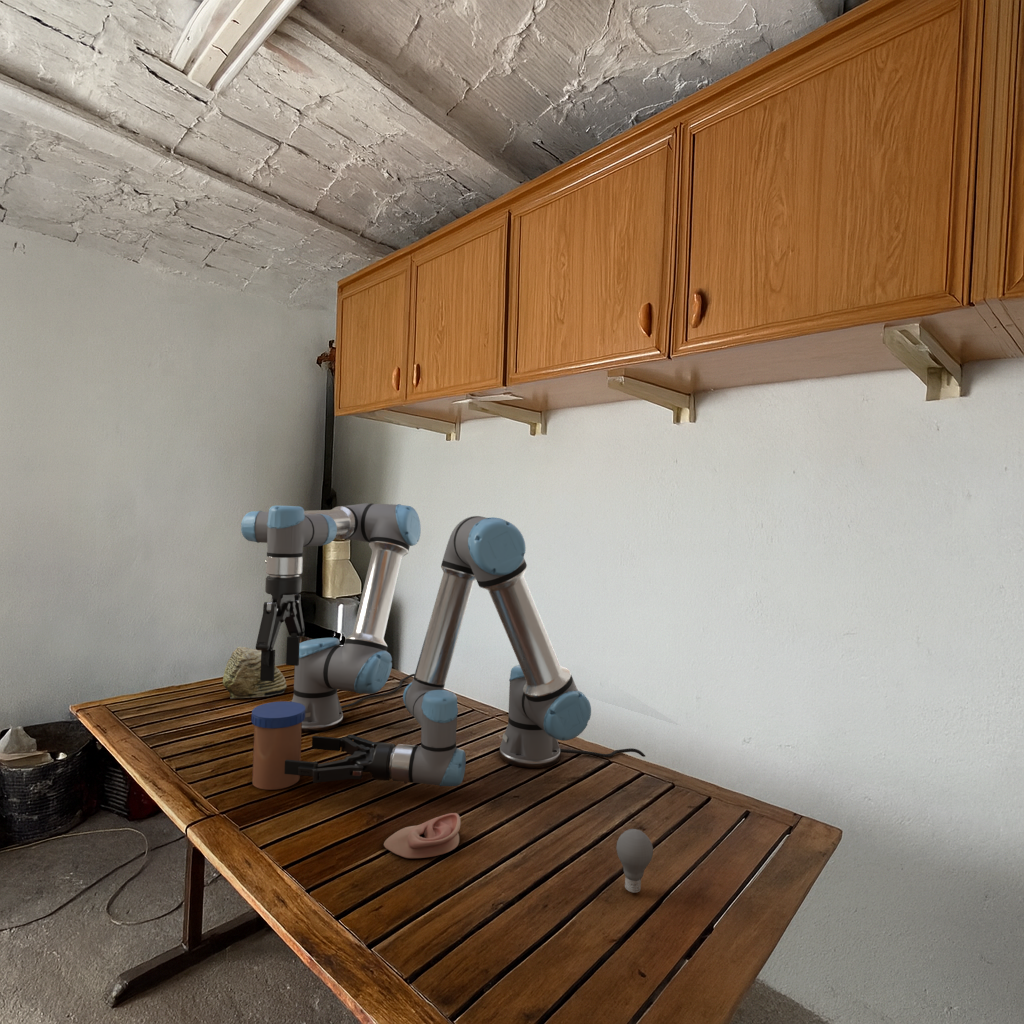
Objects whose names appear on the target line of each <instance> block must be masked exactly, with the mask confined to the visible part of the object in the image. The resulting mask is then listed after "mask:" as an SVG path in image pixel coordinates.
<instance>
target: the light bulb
mask: <svg viewBox="0 0 1024 1024" xmlns="http://www.w3.org/2000/svg"><path fill="white" fill-rule="evenodd" d="M615 849H616V854H617V857H618V859H619V861H620V863H621V865H622V867H623V873H624V874H623V875H624V876H625V878H624V888H625V890H627V891H628V892H630V893H634V894H635V893H639V892H640V891H641V889H642V887H641V886H642V879H643V877H644V875H645V871H646V868H647V867H648V866H649V864H650V863H651V861H652V859H653V855H654V847H653V843H652V841H651V838H649V836H648V835H647V834H646V833H645V832H643V831H642V830H641V829H636V828H629V829H627V830H625V831H623V832H622V833H621V834H620V835H619V837H618V839H617V841H616V847H615Z"/></svg>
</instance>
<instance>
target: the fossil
mask: <svg viewBox="0 0 1024 1024" xmlns="http://www.w3.org/2000/svg"><path fill="white" fill-rule="evenodd" d="M260 672H261V650H256V648H251V647H247V646H246V647H245V646H238V647H237V648H236V649H235V650H233V651H232V653H231V656H230V657H229V659H228V660H227V663H226V666H225V668H224V671H223V675H222V676H223V677H222V685H223V687H224V688H225V690H226V691H228V693H229V698H230V699H250V698H264V697H271V696H275V695H281V694H284V693H285V691H286V689H287V687H288V686H287V680H286V678H285V676H284V674H283V673H282V672H281V669H279V668H278V667H277V665H276V664H275V671H274V681H260Z"/></svg>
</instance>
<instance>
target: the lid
mask: <svg viewBox="0 0 1024 1024" xmlns="http://www.w3.org/2000/svg"><path fill="white" fill-rule="evenodd" d="M250 716H251V718H250V722H251V724H252V725H253V726H254V725H255V726H258V727H262V728H284V727H290V726H293V725H296V724H299V723H301V722H302V721H303V720H304V719H305V706H304V705H302V704H300V703H296V702H292V701H284V700H283V701H281V700H280V701H273V702H272V701H271V702H267V703H263V704H260V705H257V706H255V707H253V709H252V711H251V714H250Z"/></svg>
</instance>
